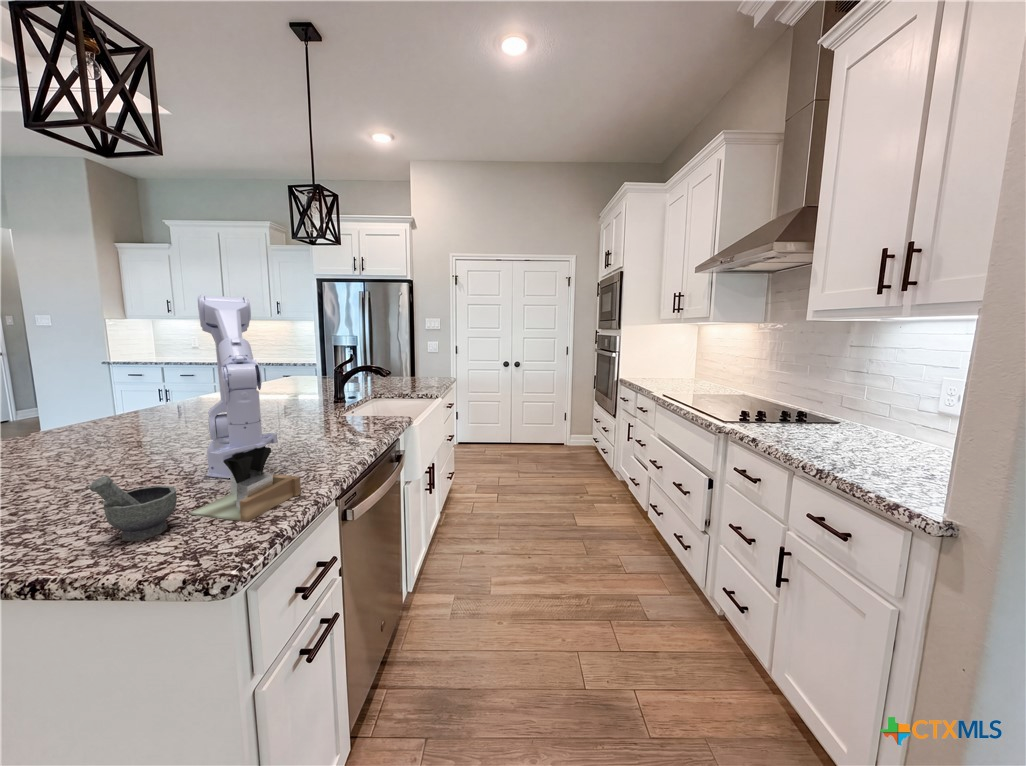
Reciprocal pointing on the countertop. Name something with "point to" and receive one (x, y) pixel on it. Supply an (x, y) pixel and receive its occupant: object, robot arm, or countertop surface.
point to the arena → (252, 501)
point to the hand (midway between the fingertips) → (249, 484)
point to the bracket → (250, 485)
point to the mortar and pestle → (136, 508)
